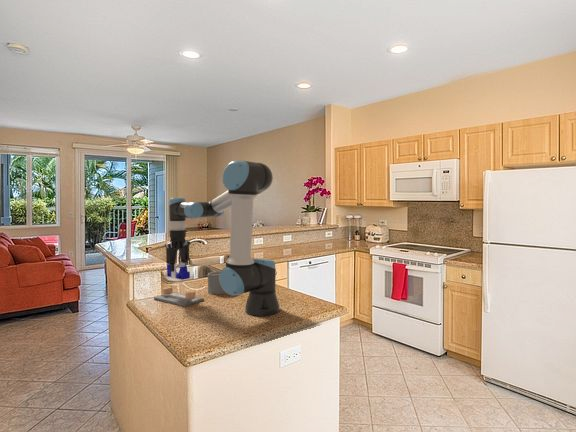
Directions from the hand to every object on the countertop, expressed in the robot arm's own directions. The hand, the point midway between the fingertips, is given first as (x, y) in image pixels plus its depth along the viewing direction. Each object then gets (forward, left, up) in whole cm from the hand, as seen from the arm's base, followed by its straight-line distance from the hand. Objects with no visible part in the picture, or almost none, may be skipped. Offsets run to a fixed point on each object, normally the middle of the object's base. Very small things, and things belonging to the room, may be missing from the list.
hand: (178, 276), depth 173 cm
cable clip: (0, 0, 0) cm, 0 cm away
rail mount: (0, 0, -12) cm, 12 cm away
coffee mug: (-4, -23, -12) cm, 26 cm away
